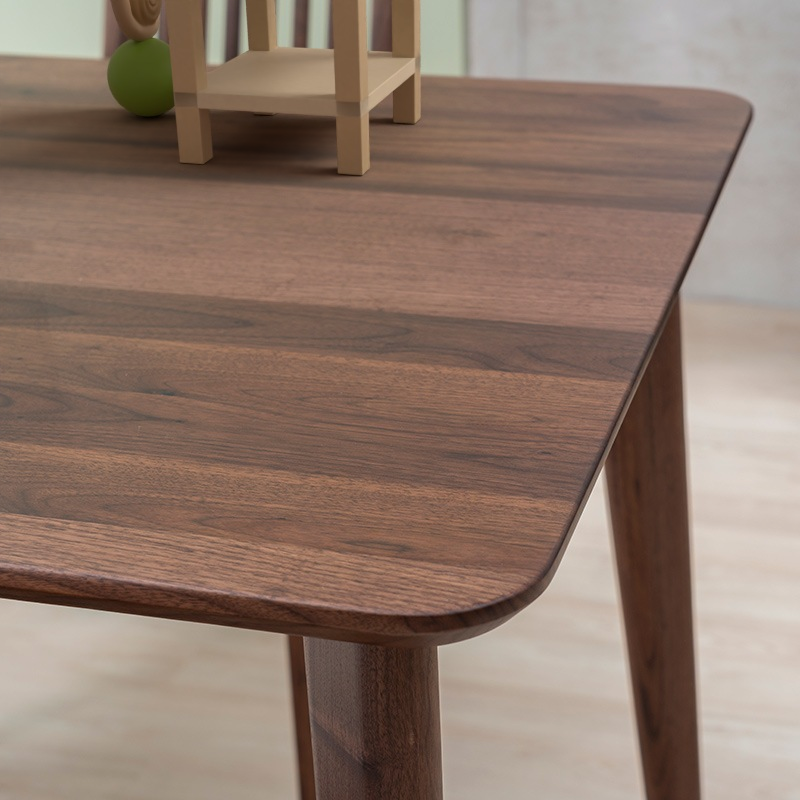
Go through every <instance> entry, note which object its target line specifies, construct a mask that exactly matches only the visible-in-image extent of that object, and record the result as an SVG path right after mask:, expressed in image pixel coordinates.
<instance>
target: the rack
mask: <svg viewBox="0 0 800 800" xmlns="http://www.w3.org/2000/svg"><path fill="white" fill-rule="evenodd" d="M164 2H165V15H166V25H167V26H166V27H167V35H168V45H169V48H170V59H171V70H172V81H173V91H174V102H175V106H174V112H175V123H176V134H177V135H176V136H177V143H178V144H177V145H178V155H179V163H181V164H194V165H195V164H196V165H204V164H206V163H207V162H209V161H210V160H211V159H213V158H214V153H213V151H214V150H213V139H212V138H213V137H212V127H211V126H212V125H211V115H210V110H218V111H233V112H234V111H237V112H250V113H251V112H252V114H253V115H260V116H261V115H262V116H274V115H276V114H285V115H301V116H321V117H333V118H334V117H335V127H336V128H335V129H336V156H337V158H336V159H337V161H336V162H337V174H338V175H351V176H364V175H365V174H366V172H368V170H370V168H371V159H370V115H369V112H370V111H371V110H372V109H374V108H375V107H376V106H377V105H378V104H380V103H381V102H382V101H384V99H386V98H387V97H388V96H389V95H390V94H391V93H392V122H393V123H395V124H410V125H411V124H412V125H415V124H416V123H418V122H419V120H421V117H422V115H421V114H422V112H421V111H422V109H421V108H422V107H421V105H422V103H421V102H422V100H421V99H422V96H421V95H422V93H421V92H422V91H421V90H422V88H421V86H422V85H421V83H422V81H421V79H422V78H421V75H422V74H421V68H422V63H421V61H422V59H421V58H422V55H421V0H391V51H381V50H380V51H377V50H368V24H367V23H368V19H367V18H368V17H367V0H331V8H332V9H331V10H332V11H331V13H332V39H333V48H317V47H316V48H315V47H313V48H312V47H294V46H278V32H277V16H276V0H245V15H246V31H247V45H248V47H247V48H248V50H246V51H244V52H243V53H240V54H239V55H237V56H235V57H234V58H232V59H230V60H227V61H226V62H224V63H223V64H221V65H219V66H217V67H215V68H213V69H211V70H210V71H208V72H207V64H206V53H205V40H204V39H205V38H204V26H203V15H202V1H201V0H164Z"/></svg>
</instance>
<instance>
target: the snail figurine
mask: <svg viewBox="0 0 800 800" xmlns="http://www.w3.org/2000/svg"><path fill="white" fill-rule="evenodd" d="M109 1H110V4H111V9H112V12H113V15H114V18H115V21H116V23H117V26H118V28H119V31H121V33H122V34H123V35H124V36H125V37H126V38H128V40H126V41H125V42H123V43H121V44H120V45H119V46H118V47H117V48H116V49H115V51H114V52H113V53H112V55H111V57H110V59H109V62H108V65H107V71H106V75H107V76H106V80H107V84H108V88H109V90H110V93H111V95H112V97H113V98H114V100H115V101H116V102H117V103H118V104H119V106H121V107H122V109H124V110H125V111H128V112H129V113H131V114H134V115H136V116H139V117H156V116H159V115H164V114H165V113H167V112H169V111H170V110H172V109H173V108H175V102H174V91H173V81H172V70H171V59H170V48H169V43H167V42H165V41H163V40H162V39H159V38H157V37H155V36H156V34H157V33H158V31H159V28H160V23H161V22H160V21H161V18H160V14H161V10H162V6H163V0H109Z"/></svg>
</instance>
